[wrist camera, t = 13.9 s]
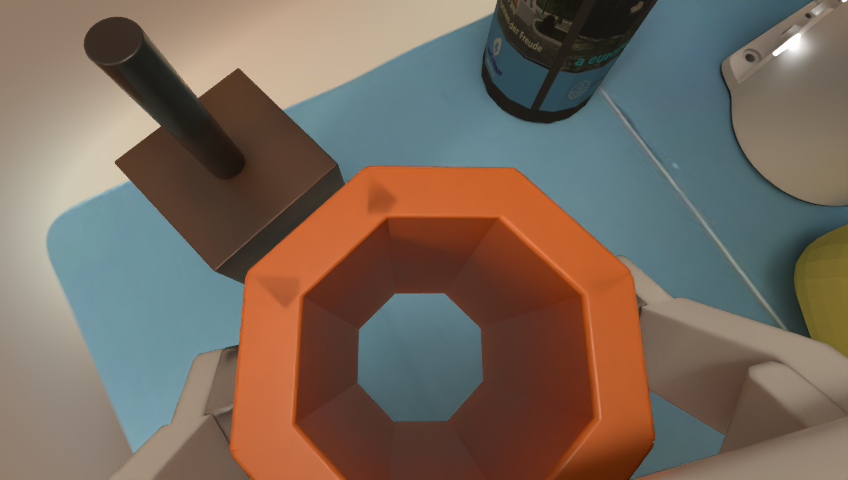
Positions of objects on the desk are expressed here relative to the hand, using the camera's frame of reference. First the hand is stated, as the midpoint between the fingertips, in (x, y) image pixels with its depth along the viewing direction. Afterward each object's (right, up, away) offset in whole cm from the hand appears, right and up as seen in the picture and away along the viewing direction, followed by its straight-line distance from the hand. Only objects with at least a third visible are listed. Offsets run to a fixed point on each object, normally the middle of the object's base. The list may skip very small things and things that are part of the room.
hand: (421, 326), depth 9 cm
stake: (-11, +3, +25) cm, 27 cm away
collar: (0, -2, +4) cm, 5 cm away
